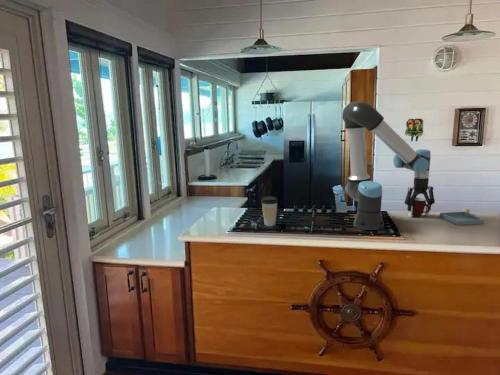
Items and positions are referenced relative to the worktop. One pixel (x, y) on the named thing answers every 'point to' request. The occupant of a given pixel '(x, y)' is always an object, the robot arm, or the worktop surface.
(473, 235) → the worktop surface
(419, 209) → the mug
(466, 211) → the ball
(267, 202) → the coffee cup
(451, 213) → the tray
